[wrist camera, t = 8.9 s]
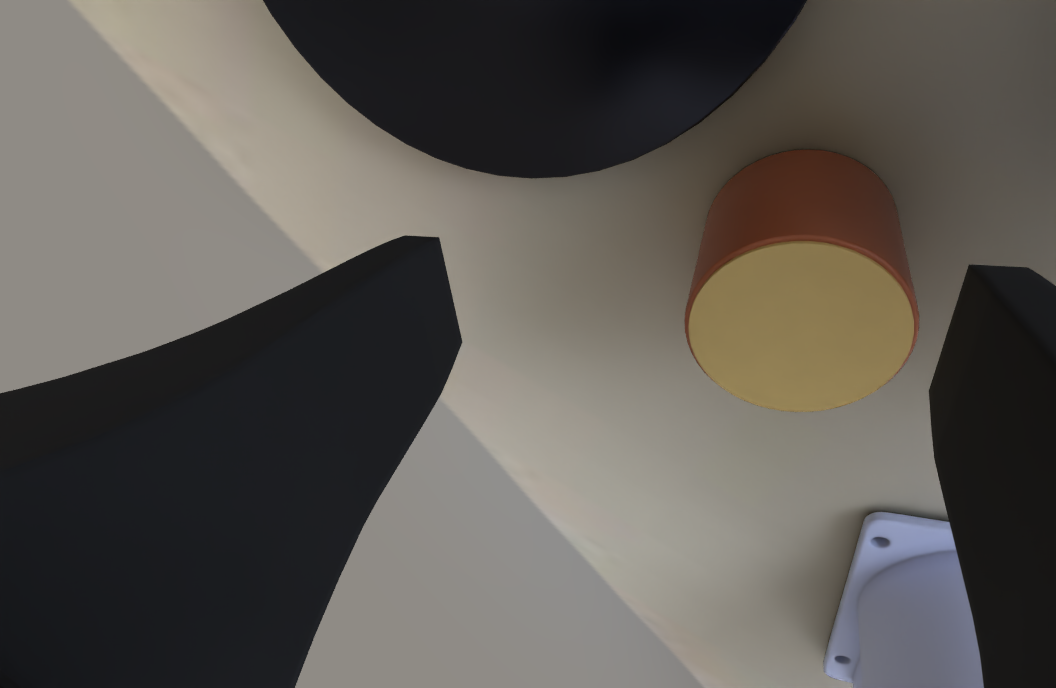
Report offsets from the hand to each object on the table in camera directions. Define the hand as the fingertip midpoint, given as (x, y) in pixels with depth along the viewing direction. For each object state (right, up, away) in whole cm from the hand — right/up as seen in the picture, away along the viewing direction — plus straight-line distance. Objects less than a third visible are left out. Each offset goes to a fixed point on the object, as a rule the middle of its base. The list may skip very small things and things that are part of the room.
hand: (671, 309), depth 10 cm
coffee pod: (+4, +2, +6) cm, 8 cm away
